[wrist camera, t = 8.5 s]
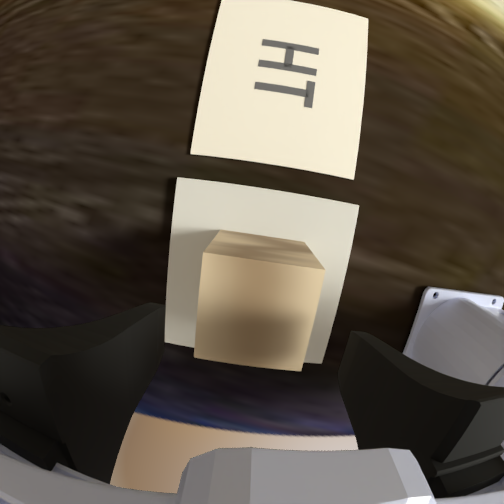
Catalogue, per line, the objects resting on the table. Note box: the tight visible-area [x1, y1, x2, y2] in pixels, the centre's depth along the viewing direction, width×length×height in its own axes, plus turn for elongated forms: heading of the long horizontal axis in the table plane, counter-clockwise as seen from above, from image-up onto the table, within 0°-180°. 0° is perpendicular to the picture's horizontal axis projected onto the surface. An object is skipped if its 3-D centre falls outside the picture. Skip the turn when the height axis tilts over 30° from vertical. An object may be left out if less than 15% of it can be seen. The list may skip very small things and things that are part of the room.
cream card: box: [190, 0, 368, 180], centre depth 16 cm, size 10×12×1 cm
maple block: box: [194, 230, 326, 371], centre depth 16 cm, size 5×5×6 cm
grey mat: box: [165, 177, 359, 364], centre depth 19 cm, size 11×11×1 cm
